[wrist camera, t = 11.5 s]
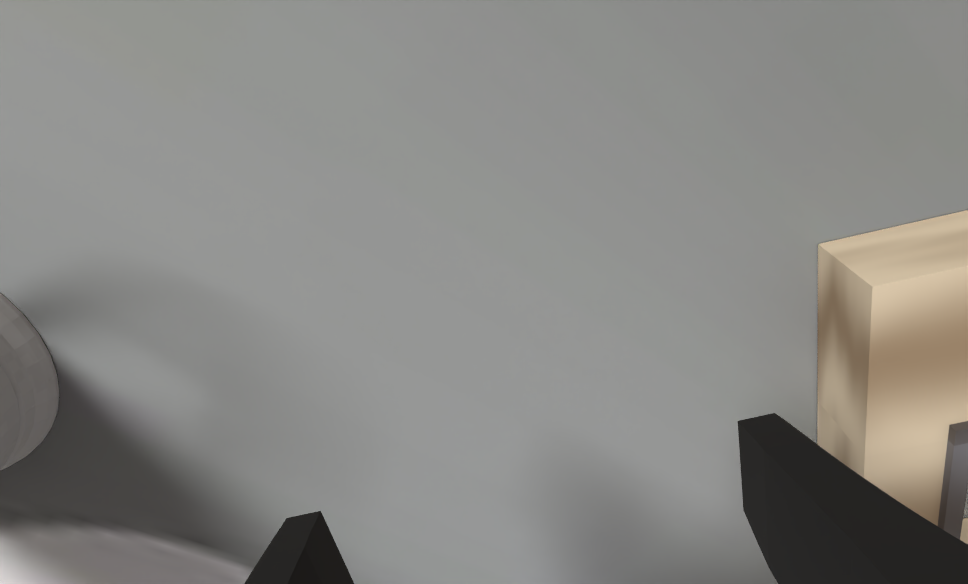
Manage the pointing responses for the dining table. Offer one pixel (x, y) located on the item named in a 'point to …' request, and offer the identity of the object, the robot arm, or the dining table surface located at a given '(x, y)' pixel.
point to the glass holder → (24, 386)
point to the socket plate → (898, 362)
